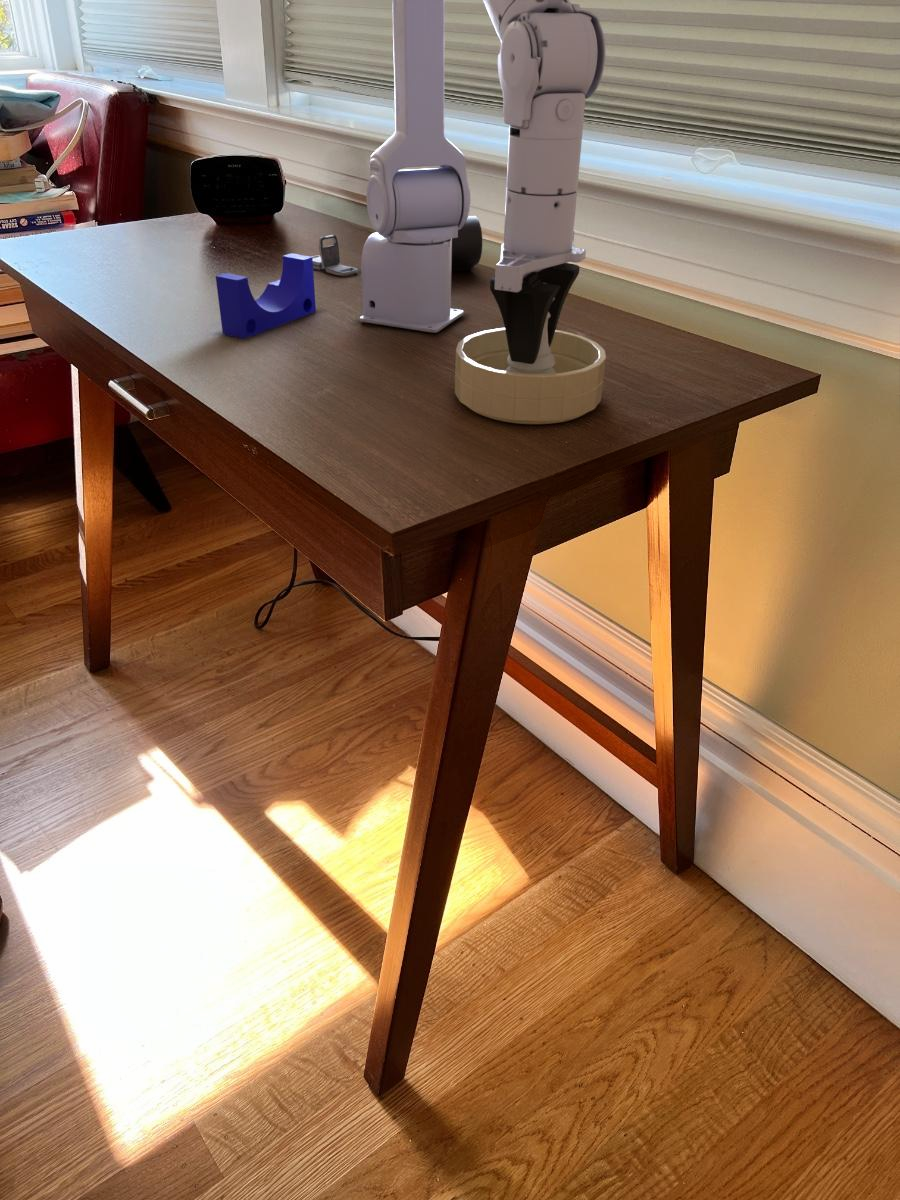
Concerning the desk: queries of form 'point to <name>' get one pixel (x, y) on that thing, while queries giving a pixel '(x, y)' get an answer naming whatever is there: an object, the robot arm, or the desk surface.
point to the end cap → (467, 245)
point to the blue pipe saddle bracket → (267, 299)
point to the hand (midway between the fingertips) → (530, 354)
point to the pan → (529, 379)
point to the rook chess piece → (542, 361)
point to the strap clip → (331, 259)
